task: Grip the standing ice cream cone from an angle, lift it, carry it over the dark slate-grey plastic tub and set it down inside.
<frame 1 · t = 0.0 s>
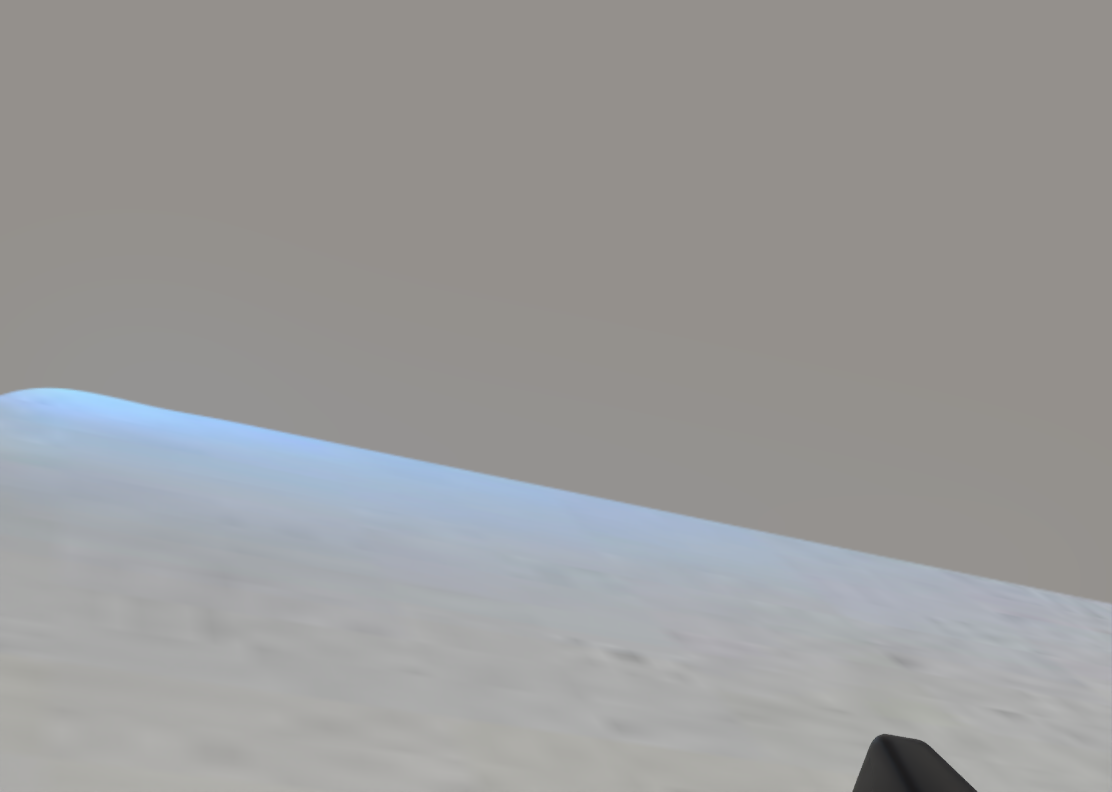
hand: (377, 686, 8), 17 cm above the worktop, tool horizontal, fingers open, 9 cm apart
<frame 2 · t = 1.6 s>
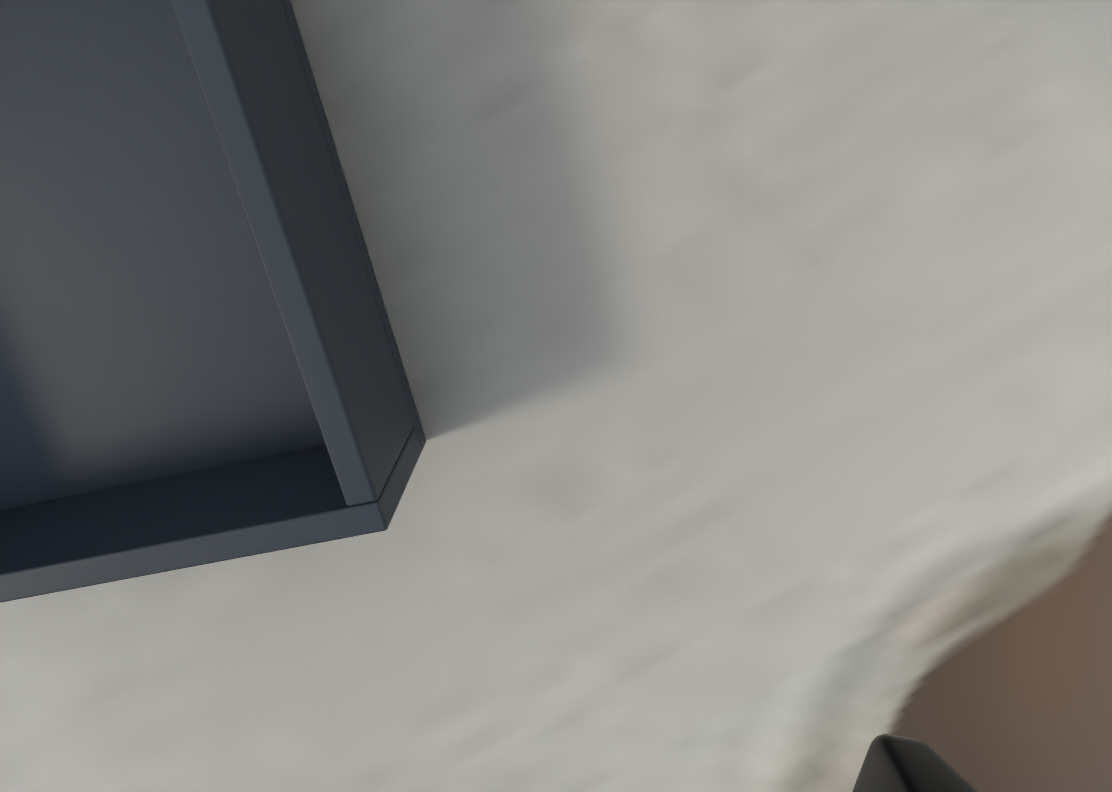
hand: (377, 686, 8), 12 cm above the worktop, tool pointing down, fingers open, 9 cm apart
tub: (65, 234, 20), on the worktop
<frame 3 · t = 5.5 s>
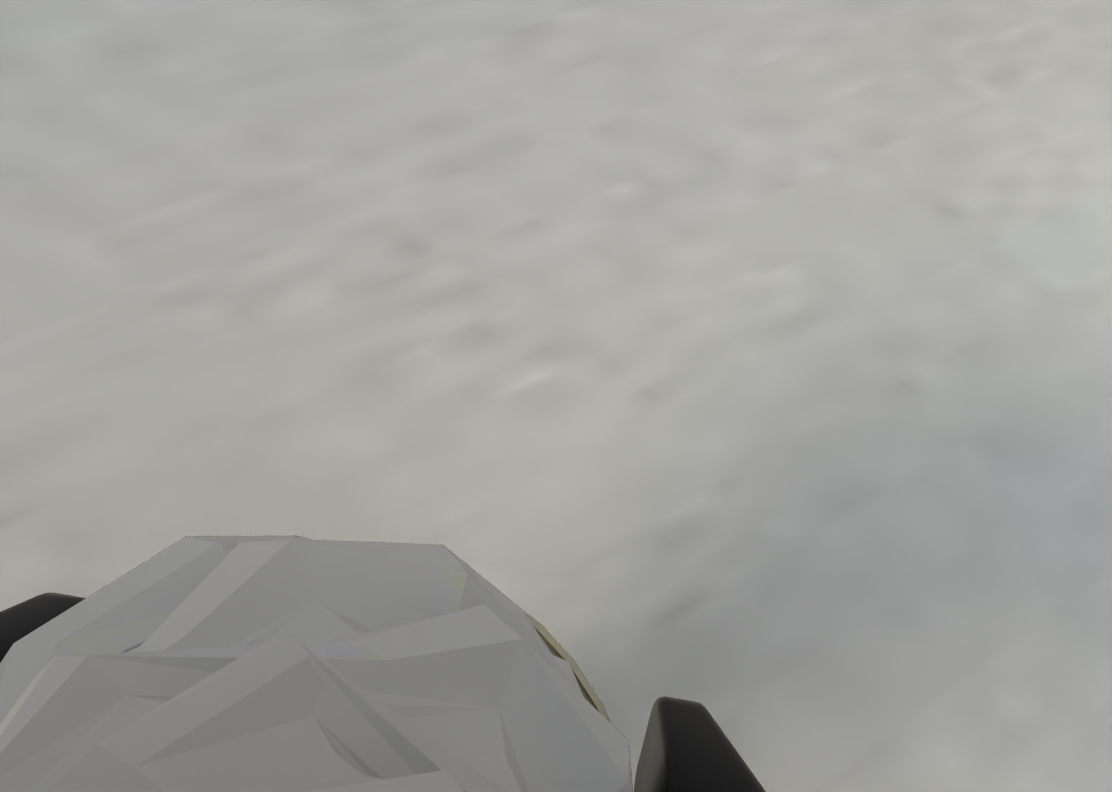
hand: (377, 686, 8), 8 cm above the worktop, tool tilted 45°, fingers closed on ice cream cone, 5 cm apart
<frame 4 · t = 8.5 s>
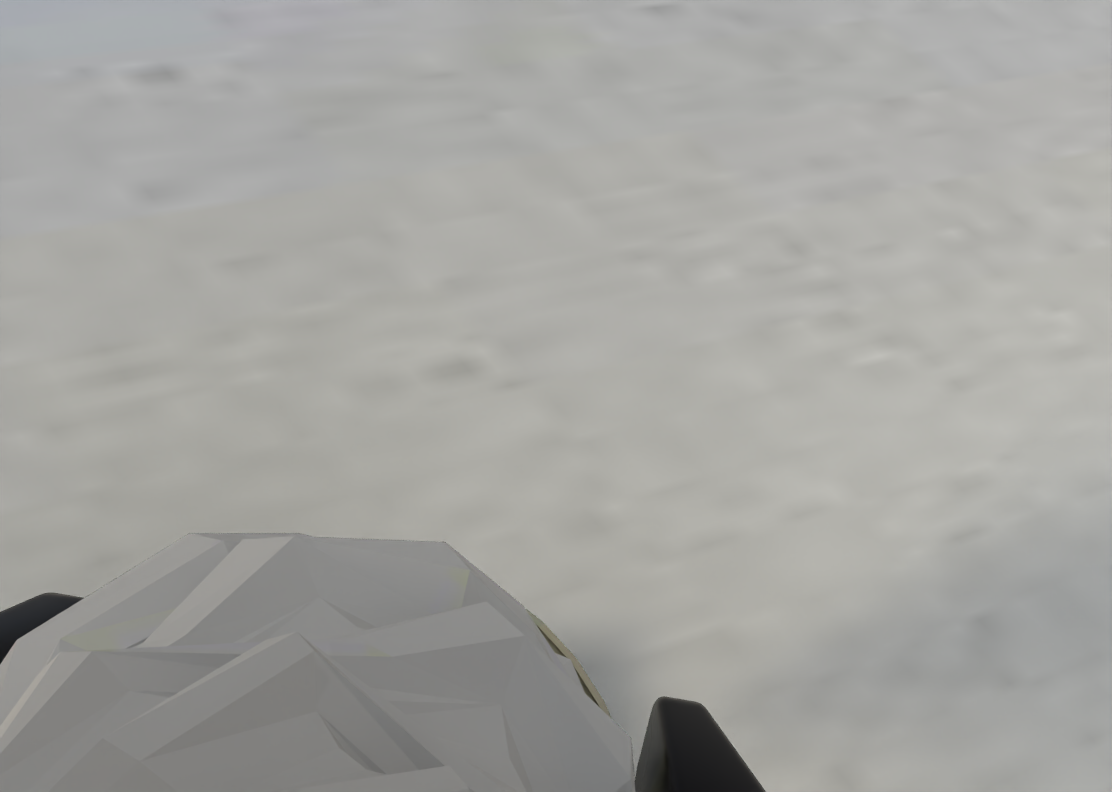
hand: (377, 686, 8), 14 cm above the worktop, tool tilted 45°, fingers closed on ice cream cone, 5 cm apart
when the fingers open (8 cm above the worktop, at t = 11.8 s): ice cream cone stays where it is, resting on tub.
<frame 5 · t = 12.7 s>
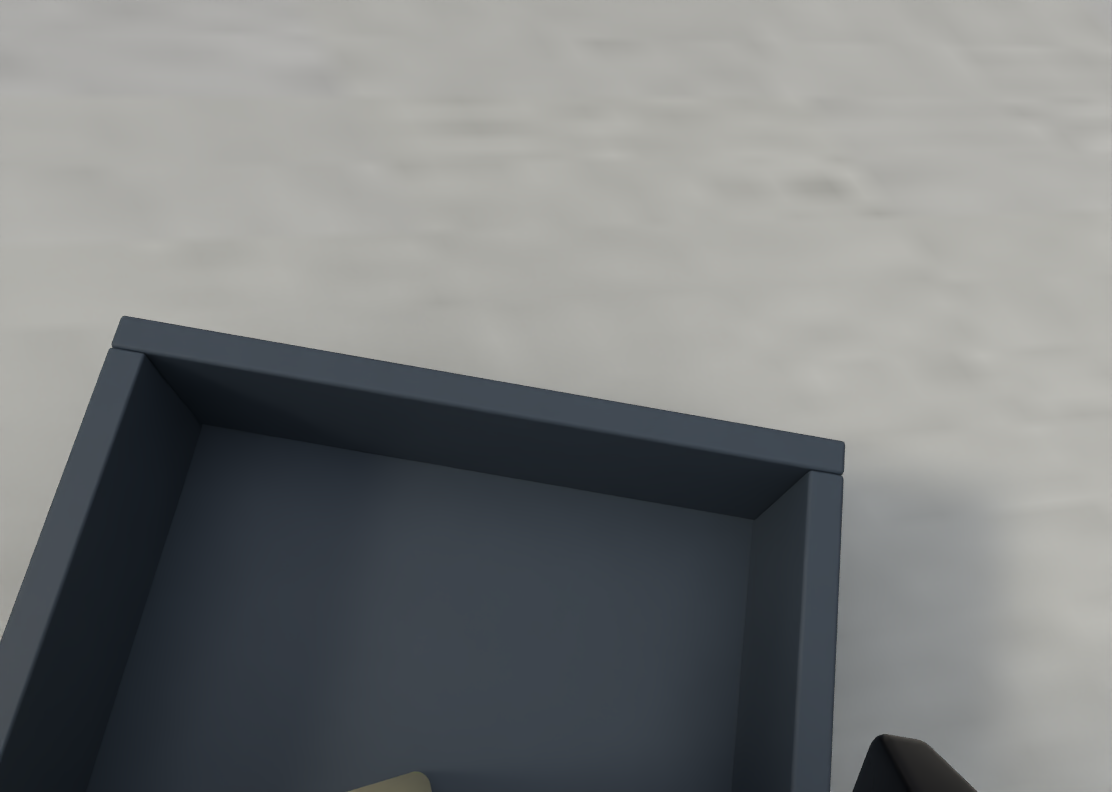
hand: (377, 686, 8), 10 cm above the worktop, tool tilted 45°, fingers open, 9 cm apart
ice cream cone: (417, 782, 17), resting on tub, touching gripper
tub: (422, 768, 17), on the worktop
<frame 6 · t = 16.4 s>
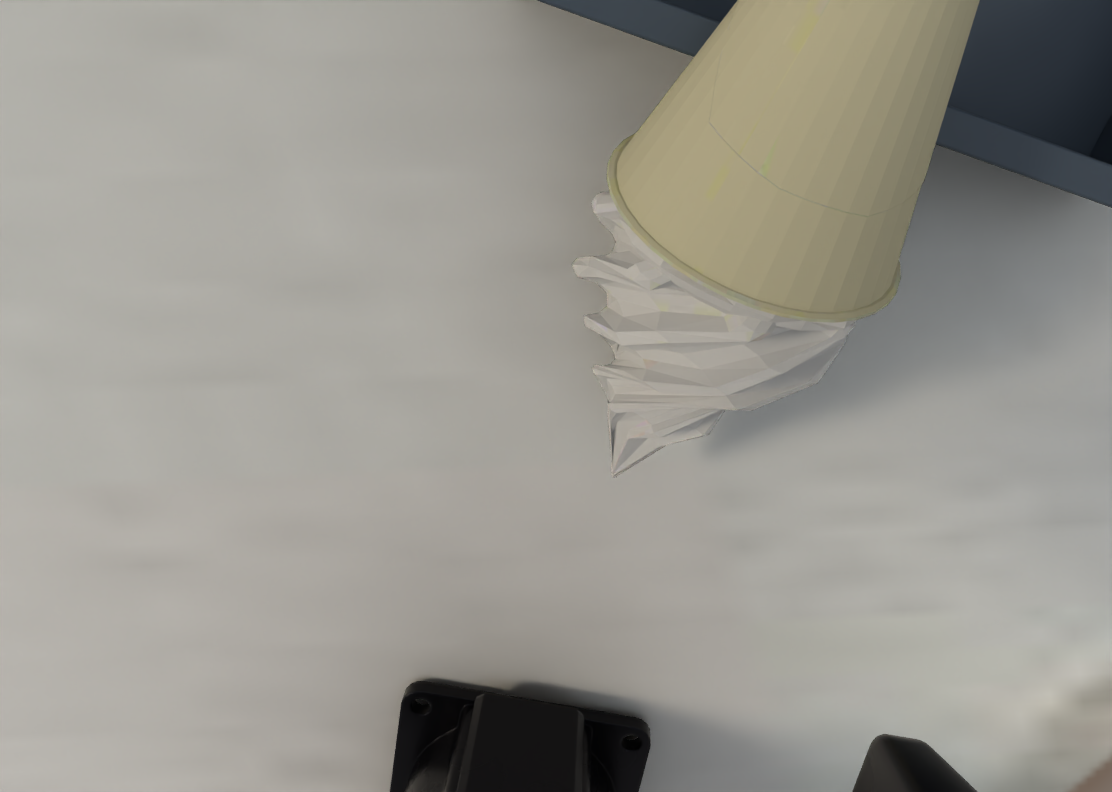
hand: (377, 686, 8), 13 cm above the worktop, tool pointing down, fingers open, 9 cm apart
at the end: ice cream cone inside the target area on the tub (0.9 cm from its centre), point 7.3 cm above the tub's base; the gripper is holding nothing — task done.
